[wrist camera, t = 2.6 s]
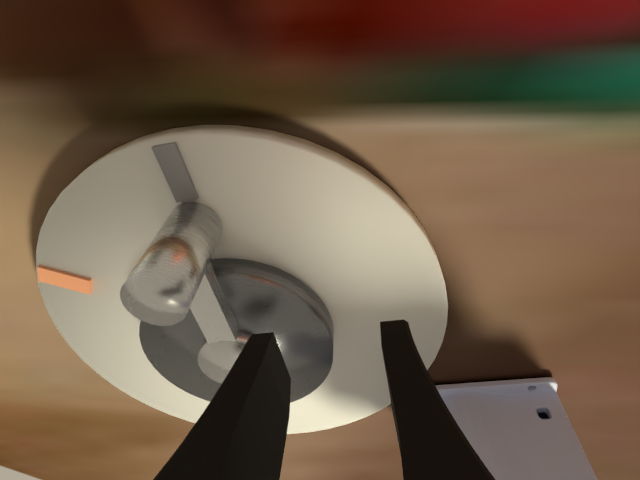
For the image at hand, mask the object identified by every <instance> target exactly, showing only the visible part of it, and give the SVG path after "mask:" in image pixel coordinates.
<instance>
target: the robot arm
mask: <svg viewBox="0 0 640 480" xmlns="http://www.w3.org/2000/svg"><path fill="white" fill-rule="evenodd" d="M380 332H381V346H382V352H383V358H384V364H385V370H386V376H387V382H388V388H389V394H390V399H391V405H392V411H393V416H394V421H395V426H396V432H397V437H398V442H399V447H400V452H401V457H402V467H403V478H404V480H597V478H596V476H595V473H594V471H593V469H592V467H591V465H590V463H589V461H588V459H587V456H586V454H585V452H584V450H583V448H582V446H581V444H580V441H579V439H578V437H577V435H576V433H575V431H574V429H573V427H572V424H571V422H570V420H569V418H568V416H567V414H566V412H565V410H564V407H563V405H562V403H561V401H560V399H559V397H558V395H557V393H556V391H557V382H556V380H555V379H554V378H551V377H543V378H529V379H515V380H501V381H487V382H474V383H460V384H446V385H435V384H434V383H433V381H432V379H431V377H430V375H429V373H428V371H427V369H426V367H425V365H424V363H423V361H422V359H421V356H420V354H419V352H418V350H417V347H416V345H415V342H414V340H413V337H412V334H411V331H410V327H409V323H408V322H407V321H405V320H404V319H403V320H393V321H382V322H380ZM290 394H291V378H290V375H289V372H288V370H287V367H286V364H285V362H284V359H283V357H282V354H281V351H280V349H279V346H278V343H277V341H276V338H275V336H274V333H273V332H270V333H260V334H252V335H251V336H250V337H249V339H248V340H247V342H246V344H245V346H244V347H243V349H242V351H241V353H240V354H239V356H238V358H237V359H236V361H235V363H234V364H233V366H232V368H231V369H230V371H229V373H228V374H227V376H226V378H225V379H224V381H223V383H222V384H221V386H220V387H219V389H218V390H217V392H216V394H215V395H214V397H213V398H212V400H211V401H210V403H209V405H208V406H207V408H206V409H205V411H204V412H203V414H202V415H201V416H200V418H199V419H198V421H197V422H196V424H195V425H194V426H193V428H192V429H191V431H190V432H189V434H188V435H187V436H186V438H185V439H184V441H183V442H182V443H181V445H180V446H179V447H178V449H177V450H176V451H175V453H174V454H173V455H172V457H171V458H170V459H169V461H168V462H167V463H166V464H165V466H164V467H163V468H162V469H161V471H160V472H159V473H158V474H157V476H156V477H155V478H154V479H153V480H279V478H280V472H281V466H282V459H283V453H284V447H285V441H286V435H287V428H288V422H289V413H290Z"/></svg>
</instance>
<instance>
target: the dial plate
mask: <svg viewBox="0 0 640 480" xmlns="http://www.w3.org/2000/svg"><path fill="white" fill-rule="evenodd" d="M184 202H198V203H201V204H204V205H206V206H208V207H210V208H211V209H212V210H214V211H215V212H216V214H217V215H218V216H219V218H220V220H221V222H222V226H223V231H222V235H221V237H220V239H219V242H218V244H217V246H216V249H215V251H214V253H213V255H212V258H211V259H220V258H235V259H245V260H252V261H256V262H260V263H264V264H268V265H270V266H273V267H276V268H279V269H281V270H283V271H285V272H287V273H289V274H291V275H293V276H294V277H296V278H298V279H299V280H301V281H302V282H304V283H305V284H306V285H307V286H309V287H310V288H311V289H312V290H313V291H314V292H315V293H316V294H317V295H318V296H319V297H320V298H321V300H322V301H323V302H324V304H325V305H326V307H327V309H328V311H329V313H330V315H331V318H332V321H333V327H334V344H333V362H332V367H331V370H330V372H329V374H328V376H327V377H326V379H325V380H324V382H323V383H322V384H321V385H320V386H319V387H318V388H317V389H316V390H314V391H313V392H312V393H310V394H309V395H307V396H305V397H303V398H301V399H299V400H297V401H294V402H291V403H290V413H289V422H288V428H287V434H295V433H305V432H313V431H319V430H325V429H330V428H334V427H338V426H341V425H345V424H349V423H351V422H354V421H357V420H360V419H362V418H365V417H367V416H369V415H371V414H373V413H376V412H378V411H380V410H382V409H384V408H385V407H387V406H388V405H390V404H391V399H390V394H389V388H388V382H387V376H386V370H385V364H384V358H383V352H382V346H381V332H380V322H382V321H393V320H403V319H404V320H405V321H407V322H408V323H409V327H410V331H411V334H412V337H413V340H414V342H415V345H416V347H417V350H418V352H419V354H420V356H421V359H422V361H423V363H424V365H425V367H426V369H427V370H428V369H429V367H430V366H431V364H432V363H433V361H434V360H435V358H436V356H437V353H438V351H439V349H440V347H441V345H442V342H443V338H444V334H445V330H446V326H447V314H448V301H447V293H446V285H445V281H444V278H443V275H442V271H441V268H440V265H439V261H438V258H437V255H436V252H435V249H434V247H433V245H432V243H431V241H430V239H429V237H428V235H427V233H426V231H425V229H424V227H423V226H422V224H421V223H420V222H419V220H418V219H417V218H416V216H415V215H414V214H413V212H412V211H411V210H410V208H409V207H408V206H407V205H406V204H405V203H404V202H403V201H402V200H401V199H400V198H399V197H398V196H397V195H396V194H395V193H394V192H393V191H392V190H391V189H390V188H389V187H388V186H387V185H386V184H385V183H383V182H382V181H381V180H379V179H378V178H377V177H375V176H374V175H373V174H371V173H370V172H369V171H367V170H366V169H365V168H363V167H362V166H360V165H358V164H356V163H355V162H353V161H351V160H349V159H348V158H346V157H344V156H342V155H341V154H339V153H337V152H335V151H333V150H330V149H328V148H325V147H323V146H320V145H318V144H316V143H313V142H311V141H308V140H306V139H303V138H299V137H295V136H292V135H288V134H285V133H281V132H277V131H274V130H268V129H261V128H254V127H247V126H240V125H197V126H188V127H179V128H172V129H168V130H164V131H160V132H156V133H153V134H149V135H145V136H142V137H140V138H137V139H135V140H133V141H130V142H128V143H126V144H123V145H121V146H119V147H117V148H115V149H113V150H112V151H110V152H109V153H107V154H106V155H104V156H103V157H101V158H100V159H98V160H96V161H95V162H94V163H92V164H91V165H90V166H89V167H88V168H87V169H85V170H84V171H83V172H82V173H81V174H80V175H79V176H78V177H76V178H75V179H74V180H73V181H72V182H71V183H70V184H69V185H68V186H67V187H66V188H65V189H64V190H63V191H62V192H61V193H60V195H59V196H58V198H57V199H56V200H55V202H54V203H53V205H52V206H51V208H50V209H49V211H48V213H47V215H46V218H45V220H44V222H43V225H42V227H41V229H40V233H39V238H38V243H37V248H36V273H37V279H38V284H39V290H40V293H41V295H42V298H43V301H44V304H45V307H46V309H47V311H48V313H49V315H50V317H51V319H52V321H53V322H54V324H55V326H56V328H57V329H58V331H59V332H60V333H61V335H62V336H63V338H64V339H65V340H66V342H67V343H68V344H69V346H70V347H71V348H72V349H73V350H74V351H75V352H76V353H77V354H78V356H79V357H80V358H81V359H82V360H83V361H84V362H85V363H87V364H88V365H89V366H90V367H91V368H92V369H93V370H94V371H95V372H97V373H98V374H99V375H100V376H102V377H103V378H104V379H106V380H107V381H108V382H110V383H111V384H112V385H114V386H115V387H117V388H118V389H120V390H122V391H123V392H125V393H127V394H128V395H130V396H131V397H133V398H135V399H137V400H139V401H141V402H143V403H145V404H147V405H149V406H151V407H153V408H155V409H158V410H160V411H162V412H165V413H167V414H169V415H172V416H175V417H178V418H181V419H184V420H187V421H190V422H193V423H196V422H197V421H198V419H199V418H200V416H201V415H202V414H203V412H204V411H205V409H206V408H207V406H208V405H209V403H210V401H207V400H204V399H201V398H198V397H196V396H194V395H191V394H189V393H187V392H185V391H183V390H182V389H180V388H178V387H177V386H175V385H174V384H172V383H171V382H169V381H168V380H167V379H166V378H164V377H163V376H162V375H161V374H160V373H159V372H158V371H157V370H156V369H155V368H154V367H153V366H152V364H151V363H150V362H149V360H148V359H147V357H146V355H145V353H144V351H143V349H142V346H141V342H140V337H139V326H140V322H141V320H139V319H138V318H136V317H134V316H133V315H132V314H131V313H129V312H128V311H127V310H126V308H125V307H124V306H123V304H122V302H121V299H120V290H121V287H122V286H123V284H124V283H125V281H126V279H127V278H128V276H129V275H130V273H131V272H132V270H133V269H134V267H135V266H136V264H137V263H138V261H139V260H140V258H141V257H142V255H143V254H144V252H145V251H146V249H147V248H148V246H149V245H150V243H151V242H152V240H153V239H154V237H155V236H156V234H157V233H158V231H159V230H160V228H161V227H162V225H163V224H164V222H165V221H166V219H167V218H168V216H169V214H170V213H171V211H172V210H173V209H174V208H175V207H176V206H177V205H179V204H181V203H184Z"/></svg>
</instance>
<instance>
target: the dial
mask: <svg viewBox="0 0 640 480" xmlns="http://www.w3.org/2000/svg"><path fill="white" fill-rule="evenodd" d="M222 231H223V226H222V222H221V220H220V218H219V216H218V215H217V214H216V212H215V211H214V210H212V209H211V208H210V207H208V206H206V205H204V204H201V203H198V202H184V203H181V204H179V205H177V206H176V207H175V208H174V209H173V210H172V211H171V213H170V214H169V216H168V218H167V219H166V221H165V222H164V224H163V225H162V227H161V228H160V230H159V231H158V233H157V234H156V236H155V237H154V239H153V240H152V242H151V243H150V245H149V246H148V248H147V249H146V251H145V252H144V254H143V255H142V257H141V258H140V260H139V261H138V263H137V264H136V266H135V267H134V269H133V270H132V272H131V273H130V275H129V276H128V278H127V279H126V281H125V283H124V284H123V286H122V287H121V290H120V299H121V302H122V304H123V306H124V307H125V308H126V310H127V311H128V312H129V313H131V314H132V315H133V316H134V317H136V318H138V319H139V320H141V322H140V326H139V337H140V342H141V346H142V349H143V351H144V353H145V355H146V357H147V359H148V360H149V362H150V363H151V364H152V366H153V367H154V368H155V369H156V370H157V371H158V372H159V373H160V374H161V375H162V376H163V377H164V378H166V379H167V380H168V381H169V382H171V383H172V384H174V385H175V386H177V387H178V388H180V389H182V390H183V391H185V392H187V393H189V394H191V395H194V396H196V397H198V398H201V399H204V400H207V401H211V400H212V398H213V397H214V395H215V394H216V392H217V390H218V389H219V387H220V386H221V384H222V383H223V381H224V379H225V378H226V376H227V374H228V373H229V371H230V369H231V368H232V366H233V364H234V363H235V361H236V359H237V358H238V356H239V354H240V353H241V351H242V349H243V347H244V346H245V344H246V342H247V340H248V339H249V337H250V336H251V335H252V334H260V333H270V332H273V333H274V336H275V338H276V341H277V343H278V346H279V349H280V351H281V354H282V357H283V359H284V362H285V364H286V367H287V370H288V372H289V375H290V378H291V394H290V403H291V402H294V401H297V400H299V399H301V398H303V397H305V396H307V395H309V394H310V393H312V392H313V391H314V390H316V389H317V388H318V387H319V386H320V385H321V384H322V383H323V382H324V380H325V379H326V377H327V376H328V374H329V372H330V370H331V367H332V362H333V344H334V327H333V321H332V318H331V315H330V313H329V311H328V309H327V307H326V305H325V304H324V302H323V301H322V300H321V298H320V297H319V296H318V295H317V294H316V293H315V292H314V291H313V290H312V289H311V288H310V287H309V286H307V285H306V284H305V283H304V282H302V281H301V280H299V279H298V278H296V277H294V276H293V275H291V274H289V273H287V272H285V271H283V270H281V269H279V268H276V267H273V266H270V265H268V264H264V263H260V262H256V261H252V260H245V259H235V258H220V259H211V258H212V255H213V253H214V251H215V249H216V246H217V244H218V242H219V239H220V237H221V235H222Z"/></svg>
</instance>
